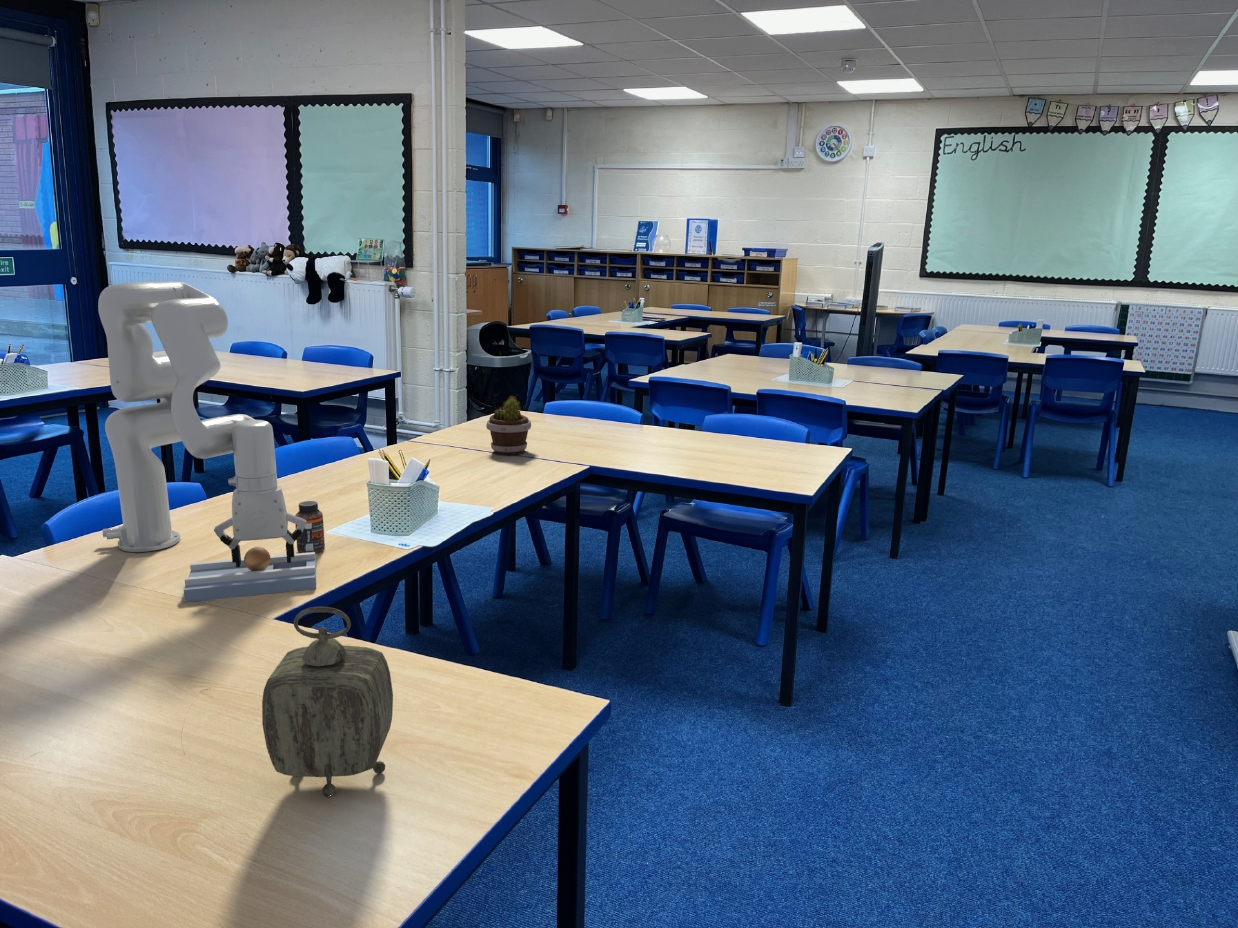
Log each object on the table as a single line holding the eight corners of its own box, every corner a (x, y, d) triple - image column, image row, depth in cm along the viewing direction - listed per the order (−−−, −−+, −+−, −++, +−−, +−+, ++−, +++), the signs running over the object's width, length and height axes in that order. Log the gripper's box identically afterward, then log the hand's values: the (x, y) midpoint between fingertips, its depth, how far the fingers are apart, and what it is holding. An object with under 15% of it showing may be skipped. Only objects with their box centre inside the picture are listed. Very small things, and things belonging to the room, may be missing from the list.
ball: (268, 551, 175) (269, 574, 177) (271, 542, 180) (272, 565, 181) (241, 552, 174) (243, 575, 175) (244, 544, 179) (246, 566, 180)
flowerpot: (482, 448, 295) (481, 389, 290) (527, 445, 300) (527, 388, 294) (489, 458, 282) (488, 397, 277) (536, 455, 286) (536, 395, 281)
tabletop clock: (396, 765, 118) (387, 593, 112) (381, 807, 110) (370, 624, 103) (288, 765, 118) (273, 593, 111) (264, 808, 109) (246, 623, 103)
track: (185, 602, 169) (182, 584, 168) (194, 575, 181) (192, 559, 181) (316, 588, 176) (314, 571, 175) (316, 564, 189) (314, 548, 188)
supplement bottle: (316, 556, 194) (312, 508, 191) (292, 554, 195) (288, 506, 192) (330, 547, 199) (327, 500, 196) (306, 545, 200) (302, 498, 197)
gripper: (207, 490, 168) (216, 573, 172) (302, 484, 173) (308, 565, 178) (211, 480, 175) (220, 560, 179) (303, 474, 180) (309, 552, 185)
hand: (264, 562), depth 178 cm, fingers open, 9 cm apart
